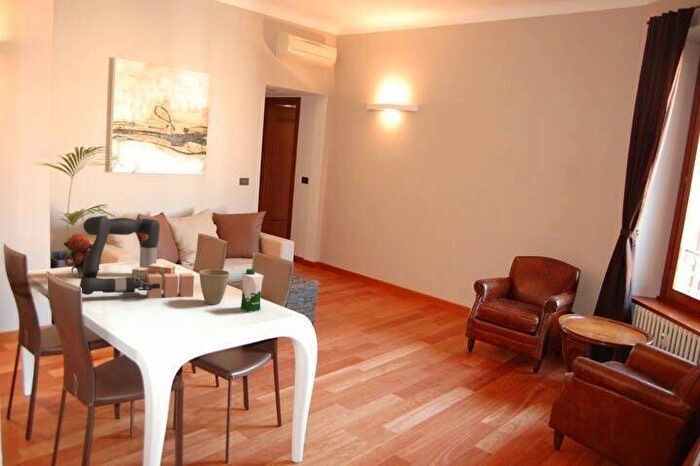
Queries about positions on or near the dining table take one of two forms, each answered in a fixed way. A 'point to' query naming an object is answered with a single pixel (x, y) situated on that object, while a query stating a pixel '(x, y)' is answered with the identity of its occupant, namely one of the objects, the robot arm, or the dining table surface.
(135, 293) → the grey round disc
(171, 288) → the salmon rectangular block
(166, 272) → the stack of blocks
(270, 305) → the dining table surface
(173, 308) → the dining table surface
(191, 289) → the peach rectangular block
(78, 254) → the stuffed monkey
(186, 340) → the dining table surface
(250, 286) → the milk carton
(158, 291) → the salmon pink rectangular block
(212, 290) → the plant pot
